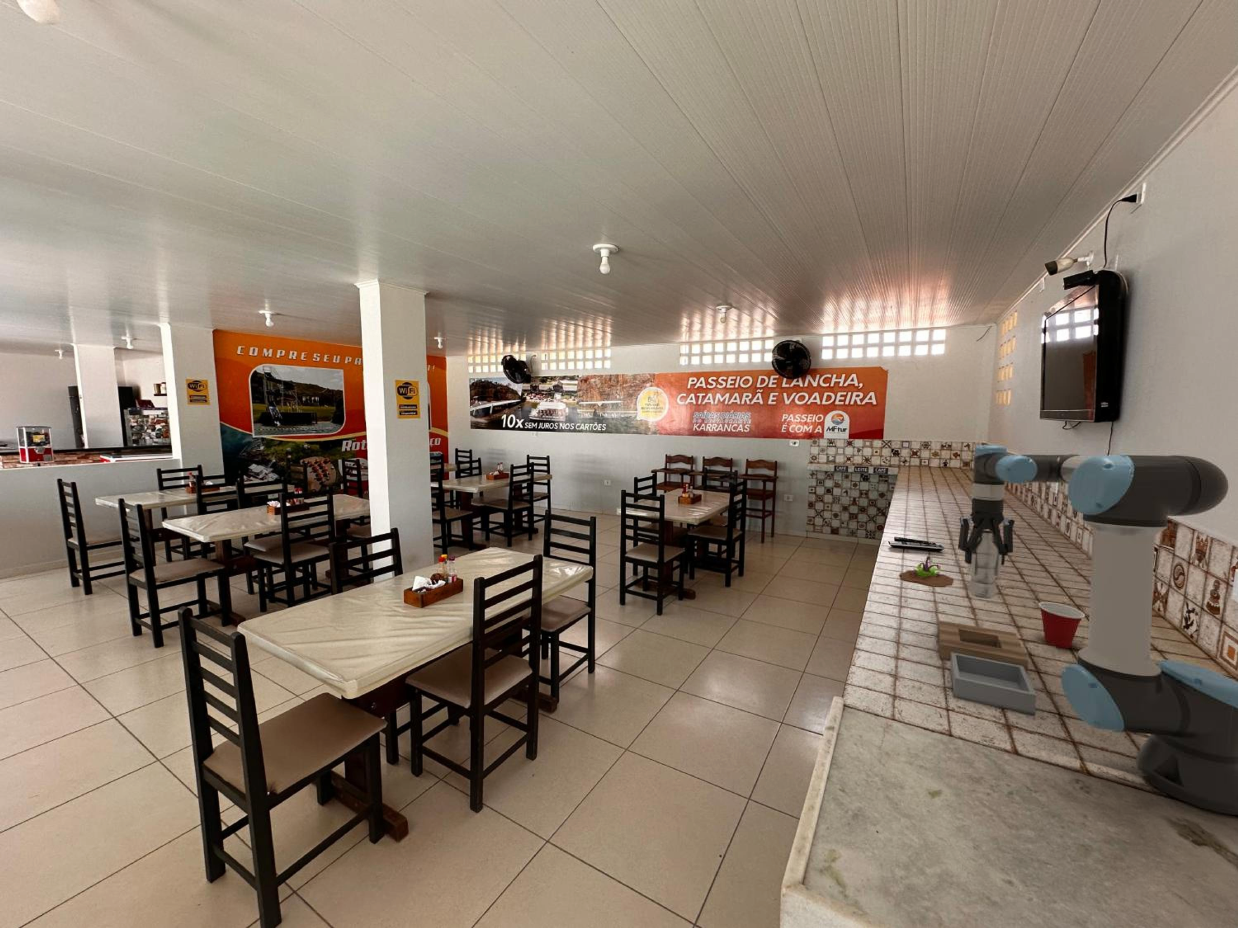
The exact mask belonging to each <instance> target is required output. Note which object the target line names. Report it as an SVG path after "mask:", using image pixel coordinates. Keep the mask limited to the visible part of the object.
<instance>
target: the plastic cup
mask: <svg viewBox="0 0 1238 928" xmlns="http://www.w3.org/2000/svg"><path fill="white" fill-rule="evenodd" d="M1038 606H1039V609H1040V615H1041V619H1042V629H1043V634H1044V641H1045V643H1046V644H1048V645H1052V646H1055V647H1056V648H1058V649H1070V648H1071V647H1072V644H1073V641H1074V639H1075V637H1076V633H1077V631H1078V630H1077V629H1078V627H1079V624H1080V623H1081V621H1082V619H1083V618H1085V617H1086V615H1085V613H1084V612H1083V611H1081V610H1079V609H1076V608H1074V607H1072V606H1069V605H1065V604H1061V603H1056V602H1050V601H1041V602H1039V603H1038Z"/></svg>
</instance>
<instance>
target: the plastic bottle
mask: <svg viewBox="0 0 1238 928" xmlns="http://www.w3.org/2000/svg"><path fill="white" fill-rule="evenodd" d="M993 536H994V533H993V532H992V531H990V530H983V532H982V533H981V534H980V537H979V539H978V541H977V544H976V546H975V548H974V551H973V553H974V554H976V558H975V576H971V575H970V576H971V578H970V581H969V584H968V592H969V594H970V595H971V596H972V597H975V598H980V599H988V600H989V599H994V597H996V595H997V586H996V576H995V567H996V561H997V558H998V554H999V549H998V547H997V545H996V544H995V543H994V540H993V539H994V537H993Z"/></svg>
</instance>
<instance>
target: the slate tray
mask: <svg viewBox="0 0 1238 928" xmlns="http://www.w3.org/2000/svg"><path fill="white" fill-rule="evenodd" d="M949 669H950V670H949V671H950V678H951V684H952V691H953V697H955V698H958V699H962V700H967V701H972V702H976V703H979V704H980V703H981V704H985V705H989V706H992V707H997V708H1002V709H1005V710H1011V711H1015V712H1019V713H1023V714H1027V715H1033V716H1035V715H1036V704H1037V703H1036V702H1037V701H1036V700H1037V694H1036V692H1035V689H1034V687H1033V685H1032V683H1031V680H1030V678H1029V675H1028V672H1027V673H1026V671H1025V669H1024V667H1023V666H1019V665H1014V664H1009V663H1004V662H999V661H993V660H988V659H983V658H978V657H973V656H967V655H962V654H957V653H952V652H951V661H950V668H949Z"/></svg>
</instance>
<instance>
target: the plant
mask: <svg viewBox="0 0 1238 928" xmlns="http://www.w3.org/2000/svg"><path fill="white" fill-rule="evenodd" d="M930 560H932V559H931V556H929V555H928V556H927V557H926V558H925V562H921V563H919V564H917V566H916V568H914V567H913V569H911V570H910V569H908V570H906V571H905V572H900V573H899V574H898V577H899V580H901V581H903V582H906V583H911V584H912V583H913V584H917V585H922V586H926V587H930V588H947V587H948V586H949V587H950V586H953V584H954V581H955V580H954V578H953V577H950V576H948V575H946V574H943V573H942V574H941V571H937V570H941V566H940V565H939V564H932V565H929V561H930Z"/></svg>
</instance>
